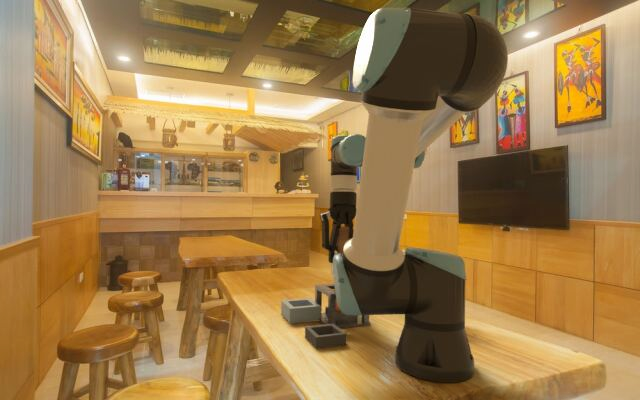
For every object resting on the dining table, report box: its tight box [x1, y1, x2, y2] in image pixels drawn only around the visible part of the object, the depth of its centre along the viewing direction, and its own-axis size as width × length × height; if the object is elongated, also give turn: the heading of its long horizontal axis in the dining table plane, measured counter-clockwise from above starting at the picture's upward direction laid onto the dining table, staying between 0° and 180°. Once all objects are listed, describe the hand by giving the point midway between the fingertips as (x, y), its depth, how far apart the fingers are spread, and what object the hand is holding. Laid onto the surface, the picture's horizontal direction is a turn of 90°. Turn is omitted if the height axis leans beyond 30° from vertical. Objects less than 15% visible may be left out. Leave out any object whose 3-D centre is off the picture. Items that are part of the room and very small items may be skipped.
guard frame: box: [314, 283, 371, 329], centre depth 100 cm, size 12×12×9 cm
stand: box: [304, 324, 348, 349], centre depth 84 cm, size 8×8×2 cm
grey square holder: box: [280, 297, 322, 324], centre depth 101 cm, size 9×9×4 cm
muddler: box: [333, 225, 350, 299], centre depth 100 cm, size 4×4×20 cm
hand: (341, 274), depth 100 cm, fingers closed on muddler, 4 cm apart
